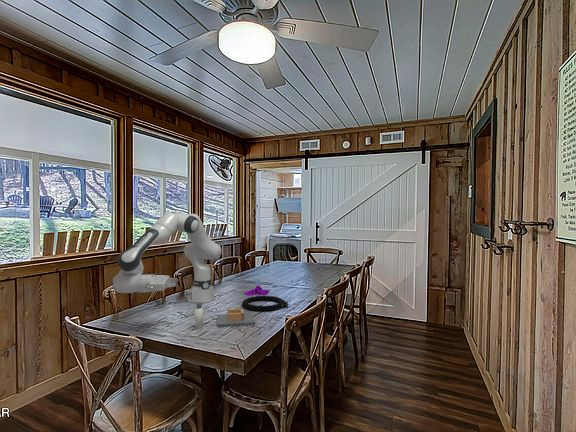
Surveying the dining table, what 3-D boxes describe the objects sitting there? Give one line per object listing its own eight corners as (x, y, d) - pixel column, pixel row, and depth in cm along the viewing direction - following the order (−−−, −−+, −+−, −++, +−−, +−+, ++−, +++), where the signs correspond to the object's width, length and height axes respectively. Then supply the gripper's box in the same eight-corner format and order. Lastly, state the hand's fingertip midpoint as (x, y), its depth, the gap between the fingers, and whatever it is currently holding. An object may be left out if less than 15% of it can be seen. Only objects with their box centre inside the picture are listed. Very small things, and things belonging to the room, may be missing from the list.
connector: (193, 326, 171) (194, 302, 171) (201, 325, 174) (201, 301, 174) (196, 329, 168) (196, 304, 168) (204, 327, 170) (204, 302, 170)
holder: (217, 327, 171) (217, 317, 171) (216, 317, 186) (216, 308, 186) (255, 324, 175) (255, 314, 175) (251, 315, 191) (251, 306, 191)
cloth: (240, 296, 236) (240, 287, 236) (249, 290, 254) (249, 282, 254) (270, 298, 231) (270, 289, 231) (276, 291, 249) (276, 283, 249)
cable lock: (249, 293, 227) (292, 296, 221) (249, 299, 227) (292, 302, 221) (235, 305, 200) (283, 308, 194) (235, 311, 200) (283, 314, 194)
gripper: (143, 281, 155) (174, 280, 158) (151, 273, 175) (178, 272, 178) (143, 294, 155) (174, 293, 158) (151, 285, 175) (178, 284, 178)
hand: (176, 282), depth 168 cm, fingers open, 8 cm apart
